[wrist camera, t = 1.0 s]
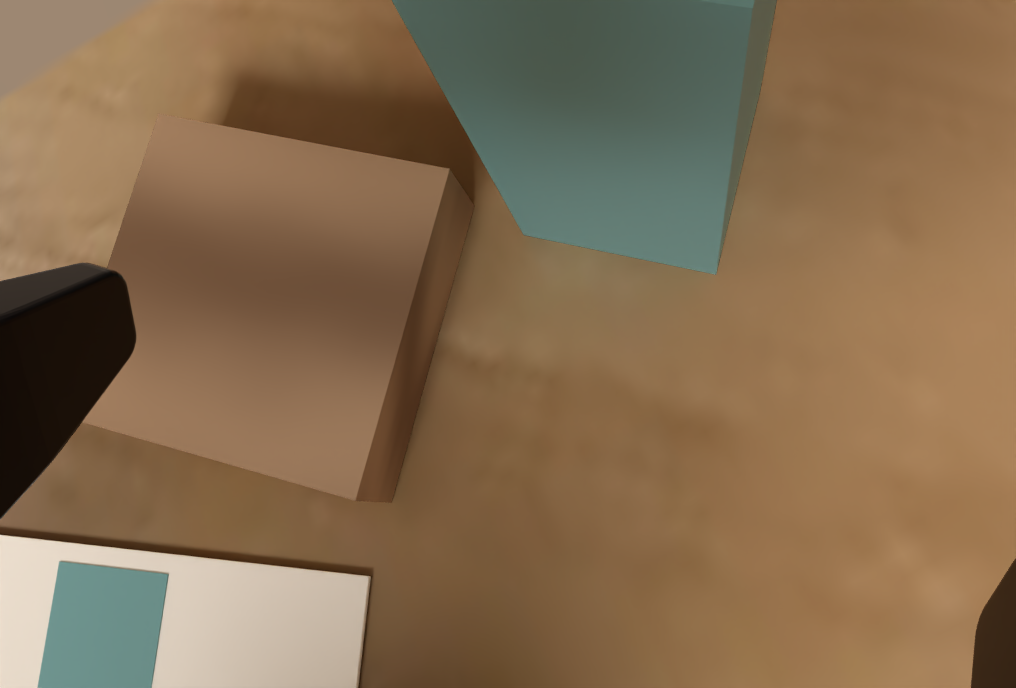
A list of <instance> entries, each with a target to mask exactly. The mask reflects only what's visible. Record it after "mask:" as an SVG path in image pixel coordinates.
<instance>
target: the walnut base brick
mask: <svg viewBox="0 0 1016 688" xmlns="http://www.w3.org/2000/svg"><path fill="white" fill-rule="evenodd" d="M473 209H474V204H473V203H472V201H471V200H470V198H469V197H468V195H467V194H466V192H465V191H464V189H463V188H462V186H461V185H460V183H459V182H458V180H457V179H456V177H455V176H454V175H453V173H452V172H451V170H450V169H448V168H443V167H437V166H432V165H427V164H422V163H416V162H411V161H406V160H401V159H395V158H390V157H385V156H380V155H374V154H369V153H364V152H359V151H353V150H348V149H343V148H338V147H332V146H327V145H322V144H317V143H311V142H306V141H301V140H296V139H290V138H285V137H280V136H275V135H269V134H264V133H259V132H254V131H248V130H243V129H238V128H233V127H227V126H222V125H217V124H212V123H206V122H201V121H196V120H191V119H185V118H180V117H175V116H170V115H164V114H158V117H157V120H156V123H155V126H154V129H153V132H152V135H151V138H150V141H149V144H148V147H147V150H146V153H145V156H144V159H143V162H142V165H141V168H140V171H139V174H138V177H137V180H136V183H135V186H134V189H133V192H132V195H131V198H130V201H129V204H128V207H127V210H126V213H125V216H124V219H123V222H122V225H121V228H120V231H119V234H118V237H117V239H116V242H115V245H114V248H113V251H112V254H111V257H110V260H109V263H108V266H107V268H108V269H111V270H115V271H117V272H118V273H120V274H121V275H122V276H123V278H124V279H125V281H126V283H127V287H128V292H129V297H130V302H131V308H132V313H133V318H134V323H135V328H136V335H137V337H136V344H135V348H134V351H133V353H132V355H131V357H130V358H129V360H128V361H127V362H126V364H125V365H124V366H123V368H122V369H121V370H120V372H119V373H118V374H117V376H116V377H115V378H114V380H113V381H112V382H111V384H110V385H109V386H108V388H107V389H106V391H105V392H104V393H103V395H102V396H101V397H100V399H99V400H98V401H97V403H96V404H95V405H94V407H93V408H92V409H91V411H90V412H89V413H88V415H87V416H86V417H85V419H84V420H83V421H82V422H83V423H87V424H90V425H94V426H97V427H101V428H104V429H108V430H111V431H114V432H118V433H121V434H125V435H128V436H132V437H135V438H139V439H142V440H146V441H149V442H153V443H156V444H160V445H163V446H167V447H170V448H174V449H177V450H181V451H184V452H187V453H191V454H194V455H198V456H201V457H205V458H208V459H212V460H215V461H219V462H222V463H226V464H229V465H233V466H236V467H240V468H243V469H247V470H250V471H254V472H257V473H261V474H264V475H267V476H271V477H274V478H278V479H281V480H285V481H288V482H292V483H295V484H299V485H302V486H306V487H309V488H313V489H316V490H320V491H323V492H327V493H330V494H334V495H337V496H340V497H344V498H347V499H351V500H354V501H371V502H392V499H393V496H394V492H395V489H396V485H397V481H398V478H399V474H400V471H401V467H402V464H403V460H404V456H405V453H406V449H407V446H408V442H409V439H410V435H411V431H412V428H413V424H414V421H415V417H416V413H417V410H418V406H419V403H420V399H421V396H422V392H423V388H424V385H425V381H426V378H427V374H428V370H429V367H430V363H431V360H432V356H433V353H434V349H435V345H436V342H437V338H438V335H439V331H440V328H441V324H442V320H443V317H444V313H445V310H446V306H447V302H448V299H449V295H450V292H451V288H452V285H453V281H454V277H455V274H456V270H457V267H458V263H459V259H460V256H461V252H462V249H463V245H464V242H465V238H466V234H467V231H468V227H469V224H470V220H471V217H472V213H473Z"/></svg>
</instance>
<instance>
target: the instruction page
mask: <svg viewBox="0 0 1016 688" xmlns="http://www.w3.org/2000/svg"><path fill="white" fill-rule="evenodd" d="M370 580H371V576H365V575H356V574H347V573H338V572H329V571H320V570H311V569H302V568H293V567H285V566H276V565H267V564H258V563H249V562H240V561H231V560H222V559H213V558H204V557H196V556H187V555H178V554H169V553H160V552H151V551H142V550H133V549H124V548H115V547H107V546H98V545H89V544H80V543H71V542H62V541H53V540H44V539H35V538H26V537H18V536H9V535H0V688H358V685H359V677H360V668H361V659H362V650H363V641H364V633H365V624H366V615H367V606H368V597H369V588H370Z"/></svg>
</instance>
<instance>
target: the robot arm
mask: <svg viewBox="0 0 1016 688" xmlns="http://www.w3.org/2000/svg"><path fill="white" fill-rule="evenodd" d="M136 337H137V335H136V328H135V323H134V318H133V313H132V308H131V302H130V297H129V292H128V287H127V283H126V281H125V279H124V278H123V276H122V275H121V274H120V273H118V272H117V271H115V270H111V269H108V268H105V267H101V266H98V265H95V264H91V263H78V264H74V265H69V266H65V267H61V268H56V269H52V270H47V271H43V272H38V273H34V274H30V275H25V276H21V277H16V278H12V279H8V280H3V281H0V519H1V518H2V517H3V516H4V515H5V514H6V513H7V512H8V510H9V509H10V508H11V507H12V506H13V505H14V504H15V503H16V502H17V501H18V499H19V498H20V497H21V496H22V495H23V494H24V493H25V492H26V491H27V490H28V488H29V487H30V486H31V485H32V484H33V483H34V482H35V481H36V480H37V478H38V477H39V476H40V475H41V474H42V473H43V472H44V470H45V469H46V468H47V467H48V466H49V465H50V463H51V462H52V461H53V460H54V458H55V457H56V456H57V455H58V453H59V452H60V451H61V450H62V448H63V447H64V446H65V444H66V443H67V442H68V440H69V439H70V438H71V436H72V435H73V434H74V432H75V431H76V430H77V428H78V427H79V426H80V424H81V423H82V421H83V420H84V419H85V417H86V416H87V415H88V413H89V412H90V411H91V409H92V408H93V407H94V405H95V404H96V403H97V401H98V400H99V399H100V397H101V396H102V395H103V393H104V392H105V391H106V389H107V388H108V386H109V385H110V384H111V382H112V381H113V380H114V378H115V377H116V376H117V374H118V373H119V372H120V370H121V369H122V368H123V366H124V365H125V364H126V362H127V361H128V360H129V358H130V357H131V355H132V353H133V351H134V348H135V344H136ZM971 688H1016V559H1015V560H1014V561H1013V563H1012V564H1011V566H1010V568H1009V569H1008V571H1007V572H1006V574H1005V575H1004V577H1003V579H1002V580H1001V582H1000V583H999V585H998V586H997V588H996V590H995V591H994V593H993V594H992V596H991V597H990V599H989V601H988V602H987V604H986V605H985V607H984V609H983V611H982V613H981V615H980V618H979V621H978V624H977V629H976V635H975V645H974V657H973V668H972V680H971Z"/></svg>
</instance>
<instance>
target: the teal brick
mask: <svg viewBox="0 0 1016 688" xmlns="http://www.w3.org/2000/svg"><path fill="white" fill-rule="evenodd" d="M392 2H393V4H394V5H395V7H396V9H397V11H398V13H399V14H400V16H401V18H402V20H403V21H404V23H405V25H406V27H407V29H408V30H409V32H410V34H411V36H412V37H413V39H414V41H415V43H416V45H417V46H418V48H419V50H420V52H421V53H422V55H423V57H424V59H425V61H426V62H427V64H428V66H429V68H430V69H431V71H432V73H433V75H434V77H435V78H436V80H437V82H438V84H439V85H440V87H441V89H442V91H443V93H444V94H445V96H446V98H447V100H448V101H449V103H450V105H451V107H452V109H453V110H454V112H455V114H456V116H457V117H458V119H459V121H460V123H461V125H462V126H463V128H464V130H465V132H466V133H467V135H468V137H469V139H470V141H471V142H472V144H473V146H474V148H475V149H476V151H477V153H478V155H479V157H480V158H481V160H482V162H483V164H484V165H485V167H486V169H487V171H488V173H489V174H490V176H491V178H492V180H493V181H494V183H495V185H496V187H497V189H498V190H499V192H500V194H501V196H502V197H503V199H504V201H505V203H506V205H507V206H508V208H509V210H510V212H511V213H512V215H513V217H514V219H515V221H516V222H517V224H518V226H519V228H520V229H521V231H522V233H523V235H526V236H531V237H536V238H541V239H545V240H550V241H555V242H560V243H565V244H570V245H575V246H579V247H584V248H589V249H594V250H599V251H604V252H609V253H613V254H618V255H623V256H628V257H633V258H638V259H643V260H647V261H652V262H657V263H662V264H667V265H672V266H677V267H681V268H686V269H691V270H696V271H701V272H706V273H711V274H715V275H716V273H717V269H718V265H719V261H720V256H721V252H722V248H723V244H724V240H725V236H726V231H727V227H728V223H729V219H730V215H731V211H732V206H733V202H734V198H735V194H736V190H737V186H738V181H739V177H740V173H741V169H742V165H743V161H744V156H745V152H746V148H747V144H748V140H749V136H750V131H751V127H752V123H753V119H754V115H755V111H756V106H757V102H758V98H759V94H760V90H761V85H762V79H763V74H764V68H765V63H766V57H767V52H768V46H769V41H770V35H771V30H772V24H773V19H774V13H775V8H776V2H777V0H392Z"/></svg>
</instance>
